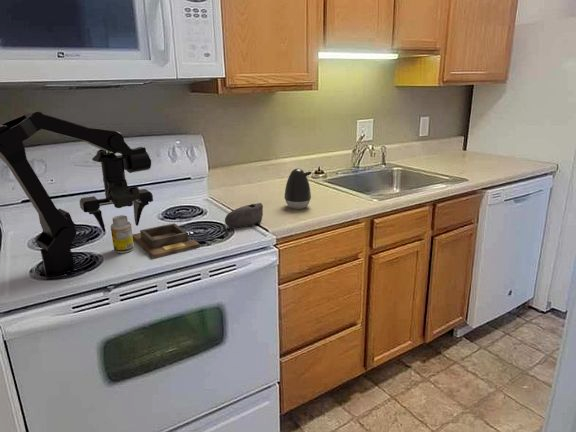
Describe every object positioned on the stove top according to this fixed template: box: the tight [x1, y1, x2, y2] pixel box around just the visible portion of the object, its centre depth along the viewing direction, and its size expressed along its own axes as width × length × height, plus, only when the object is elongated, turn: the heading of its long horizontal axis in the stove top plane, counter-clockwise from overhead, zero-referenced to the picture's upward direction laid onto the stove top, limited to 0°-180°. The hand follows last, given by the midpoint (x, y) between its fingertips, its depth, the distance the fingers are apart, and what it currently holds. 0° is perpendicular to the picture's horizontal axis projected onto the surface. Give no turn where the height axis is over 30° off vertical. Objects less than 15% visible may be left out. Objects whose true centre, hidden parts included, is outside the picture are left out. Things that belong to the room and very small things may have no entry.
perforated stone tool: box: [224, 202, 264, 229], centre depth 146 cm, size 15×5×7 cm, turn 122°
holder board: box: [132, 223, 201, 259], centre depth 132 cm, size 14×20×4 cm
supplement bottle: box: [110, 214, 135, 254], centre depth 125 cm, size 6×6×10 cm
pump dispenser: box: [284, 168, 312, 210], centre depth 164 cm, size 10×10×15 cm
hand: (120, 228), depth 124 cm, fingers open, 9 cm apart
